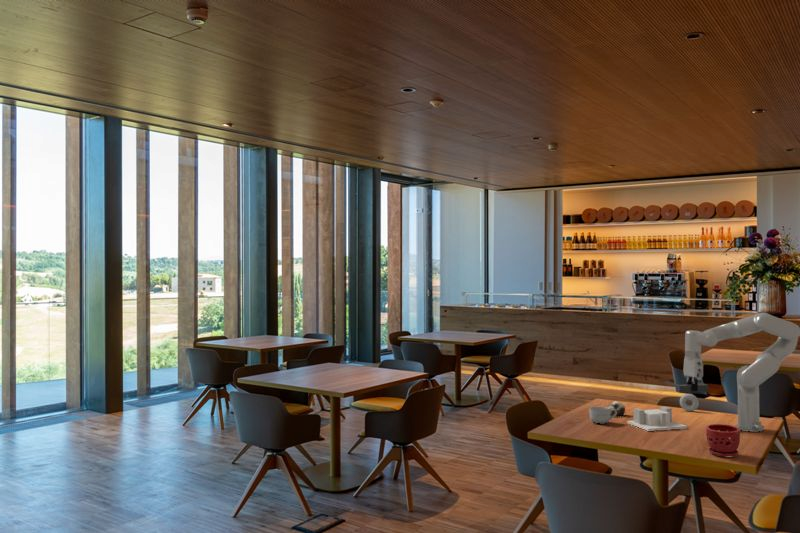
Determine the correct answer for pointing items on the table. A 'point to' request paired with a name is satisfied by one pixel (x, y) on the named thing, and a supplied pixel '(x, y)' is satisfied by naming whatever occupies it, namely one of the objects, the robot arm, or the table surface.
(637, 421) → the white block structure
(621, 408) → the skull
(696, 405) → the donut
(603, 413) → the teacup
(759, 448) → the table surface
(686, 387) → the glasses
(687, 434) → the table surface
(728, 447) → the plant pot
